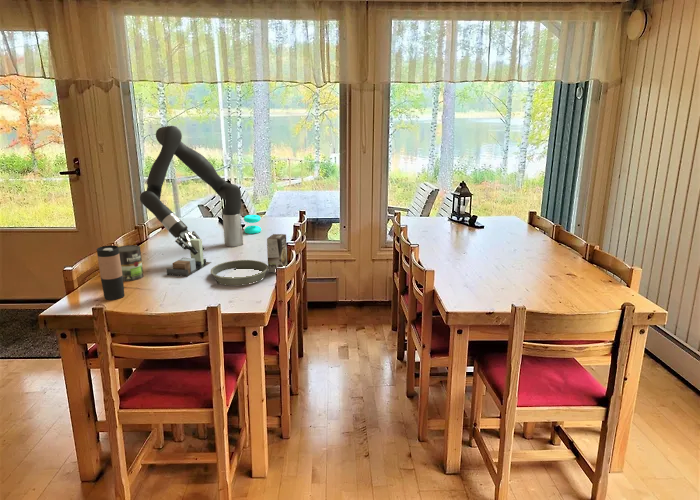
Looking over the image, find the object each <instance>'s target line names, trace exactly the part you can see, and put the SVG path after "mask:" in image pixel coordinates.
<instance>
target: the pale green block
mask: <svg viewBox="0 0 700 500" xmlns="http://www.w3.org/2000/svg"><path fill="white" fill-rule="evenodd" d="M190 241H191V242H190V243H191V245H192V246H193V247H194V248H195V249H196V250H197V251H198V253H197V254H196V255H194V254H193V253H192V252H191V251H190V250H189V254H190V258H195V261H200V262H201V263H202V265H203V264H204V259H205V258H204V250H203V248H202V245H203V240H202V238H200V239H197V238H196V239H190Z"/></svg>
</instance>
